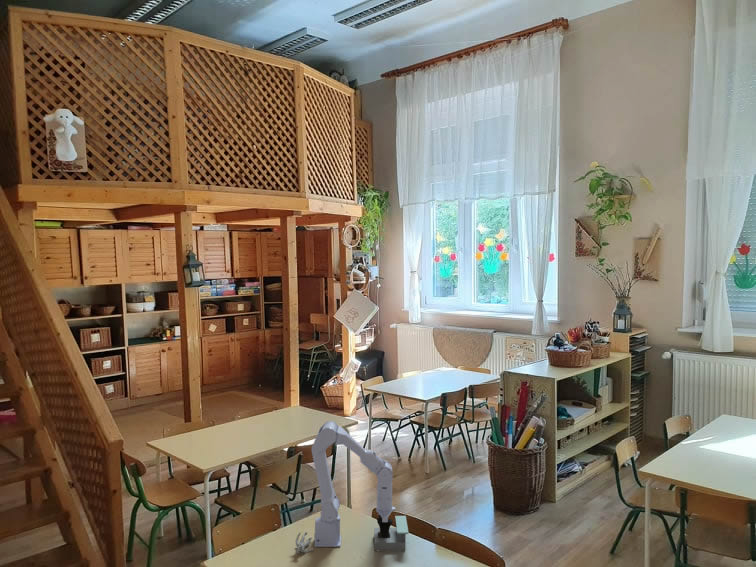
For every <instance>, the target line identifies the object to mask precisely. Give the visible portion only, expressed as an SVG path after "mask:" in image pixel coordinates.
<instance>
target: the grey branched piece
mask: <svg viewBox="0 0 756 567" xmlns="http://www.w3.org/2000/svg"><path fill="white" fill-rule="evenodd" d="M307 535H308V532H307V531H305V532H304V533H303V534H302V531H300V532H298V534H297V535H296V538H295V546H296V547H295V548H294V550H295V552H297V554H298V555H299V554H300V553H304V554H307V553H310V552H311V551H313V550H315V548H314V547H311V548H310V549H306V547H307V546H308V545H310V542H311V540H312V537H309V538H307V539H306V541H305V538H306V537H305V536H307ZM300 536H301V537H300ZM299 537H300V540H299Z"/></svg>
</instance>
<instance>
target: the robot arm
mask: <svg viewBox="0 0 756 567" xmlns="http://www.w3.org/2000/svg"><path fill="white" fill-rule="evenodd" d="M334 443H335V444H334ZM333 444H334V445H335V446H342V445H343V446H345V447H346V448H347V449H349V450H350V451H351V452H353V453H354V454H356V455H357V456H358V457H359V460H360V463H361V464H362V465H363V466H364V467H366V469H368V470H370V472H372V473H373V474H375V475H376V478H377V483H376V508H375V511H376V513H377V515H378V517H377V518H376V521H377V525H378V526H379V527H378V528H380V532H381V537H382V538H387V537H388V533H389V528H391V526H392V524H393V519H392V518H389V517H390V515H391V514H392V512H394V511H396V507H395V506H393V477H394V475H393V467H392V464H391V463H390V461H387V460H385V459H383V458H381V457H380V456H379V455H377V451H375V450H373V451H372V449H365V448H364V447H363V446H362V445H361V444H360V443H359V442H358V441H357V440H355V438H353V437H352V436H351V434H349V433H348V432H347V431H346V429H344V428H343V427H342V426H340V425H338V424H337V423H336V422H335V421H332V420H329V421H326V422H325V423H324V424H323V425H322V426H320V428H319V431H318V432H317V435H316V437H315V439H314V441H313V444H312V446H311V454H312V458H313V463H314V464H313V465H314V468H315V474H316V479H317V482H318V483H317V484H318V488H319V494H320V507H321V510H320V516H318V517H316V518H315V520H314V521H315V522H314V535H313V536H314V537H313V538H314V547H316V548H317V547H318V548H319V547H320V548H324V547H325V548H327V547H328V548H330V547H331V548H332V547H334V548H335V547H341V545H342V535H341V515H340V514H339V510H340V505H341V503H340V501H341V500H340V499H339V498H338V496H337V495H336V491H335V490H334V486H333V481H332V476H331V471H330V467H329V462H328V458H327V452H326V450H327V449H328V448H329V447H330V446H333Z"/></svg>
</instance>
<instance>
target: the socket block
mask: <svg viewBox="0 0 756 567" xmlns="http://www.w3.org/2000/svg"><path fill="white" fill-rule="evenodd" d="M394 517H395V526H396V527H390V528H389V533H388V538H380V527H373V529H374V530H373V533H374V534H373V535H374V536H373V538H374V542H373V543H374V551H375V550H394V551H393V552H396V551H395V550H397V552H398V551H399V552H400V551H401V552H402V551H404V552H405V551H406V541H407V540H406V536H407V535H409V528H408V522H407V516H406V515H395V516H394Z"/></svg>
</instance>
